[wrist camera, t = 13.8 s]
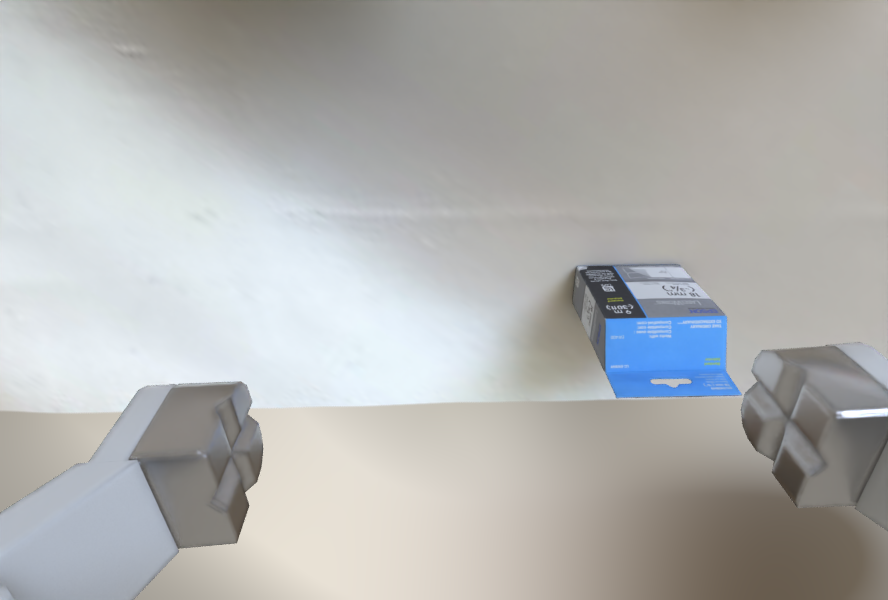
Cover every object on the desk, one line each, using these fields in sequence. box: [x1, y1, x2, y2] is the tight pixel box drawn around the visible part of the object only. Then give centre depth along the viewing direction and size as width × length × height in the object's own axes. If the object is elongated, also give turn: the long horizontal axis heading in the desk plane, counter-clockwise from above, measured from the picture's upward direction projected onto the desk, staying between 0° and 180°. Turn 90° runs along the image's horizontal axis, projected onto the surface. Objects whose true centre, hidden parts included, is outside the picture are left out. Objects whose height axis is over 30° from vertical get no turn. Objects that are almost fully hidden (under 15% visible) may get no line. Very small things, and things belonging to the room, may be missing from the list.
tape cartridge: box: [573, 265, 742, 398], centre depth 41 cm, size 9×4×12 cm, turn 90°
